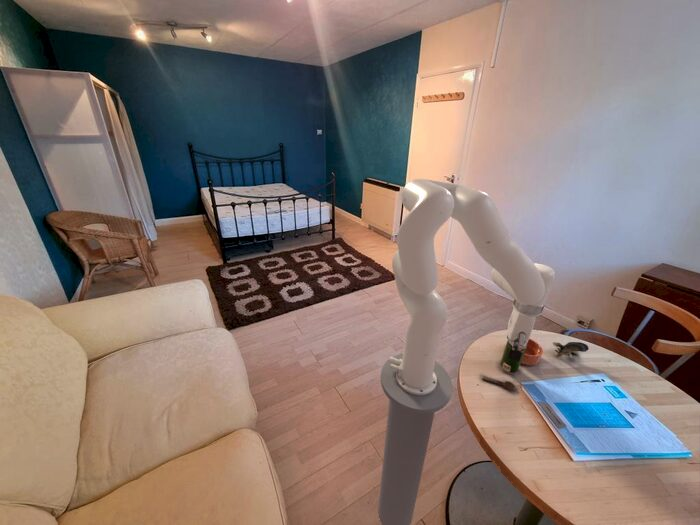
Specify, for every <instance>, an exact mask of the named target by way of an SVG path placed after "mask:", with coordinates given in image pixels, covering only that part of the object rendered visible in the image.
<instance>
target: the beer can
mask: <svg viewBox="0 0 700 525" xmlns="http://www.w3.org/2000/svg"><path fill="white" fill-rule="evenodd" d="M516 340H519V338H516ZM512 345H513V341H512V340H509V338H508V339H507V340H506V344H505V346H504V350H503V353H502V356H501V360H500V362H499V366H500V369H501V370H502V371H503V372H505V373H507V374H509V375H514V374H516V373H518V372H519V369H520V366H521V364H522V363H521V361H522V359H523V356H524V353H525V350H526V348H527V343H526V344H524V348H523V353H522V355H521V358H520V361H516V360H512V359H509V358H508V354H509V351H510V348H511V347H512ZM515 346H518V342H516V344H515Z"/></svg>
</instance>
